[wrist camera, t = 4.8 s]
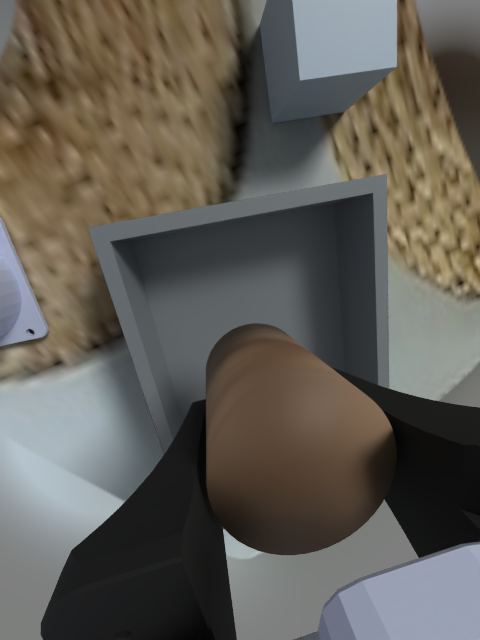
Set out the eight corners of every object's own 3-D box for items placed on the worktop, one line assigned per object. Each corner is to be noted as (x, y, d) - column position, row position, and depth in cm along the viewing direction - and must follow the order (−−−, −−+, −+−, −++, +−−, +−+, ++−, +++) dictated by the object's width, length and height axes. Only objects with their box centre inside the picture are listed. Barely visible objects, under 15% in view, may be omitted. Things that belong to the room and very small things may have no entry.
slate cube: (271, 123, 17) (299, 80, 13) (259, 26, 16) (286, -65, 11) (343, 112, 18) (397, 66, 13) (338, 16, 16) (396, -75, 12)
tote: (192, 479, 24) (192, 537, 20) (116, 231, 18) (87, 227, 13) (354, 435, 26) (390, 479, 21) (339, 190, 19) (386, 174, 14)
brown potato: (223, 430, 14) (240, 581, 7) (191, 341, 13) (177, 421, 6) (312, 398, 14) (410, 514, 8) (289, 310, 13) (377, 352, 6)
